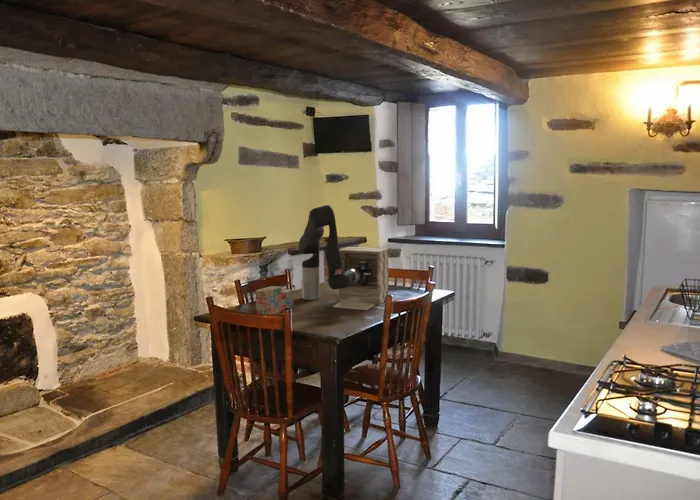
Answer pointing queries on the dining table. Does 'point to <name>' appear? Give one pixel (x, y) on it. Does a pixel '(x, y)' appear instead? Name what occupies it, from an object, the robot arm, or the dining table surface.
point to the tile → (354, 305)
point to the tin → (363, 265)
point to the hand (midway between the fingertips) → (364, 270)
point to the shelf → (376, 282)
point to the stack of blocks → (273, 300)
